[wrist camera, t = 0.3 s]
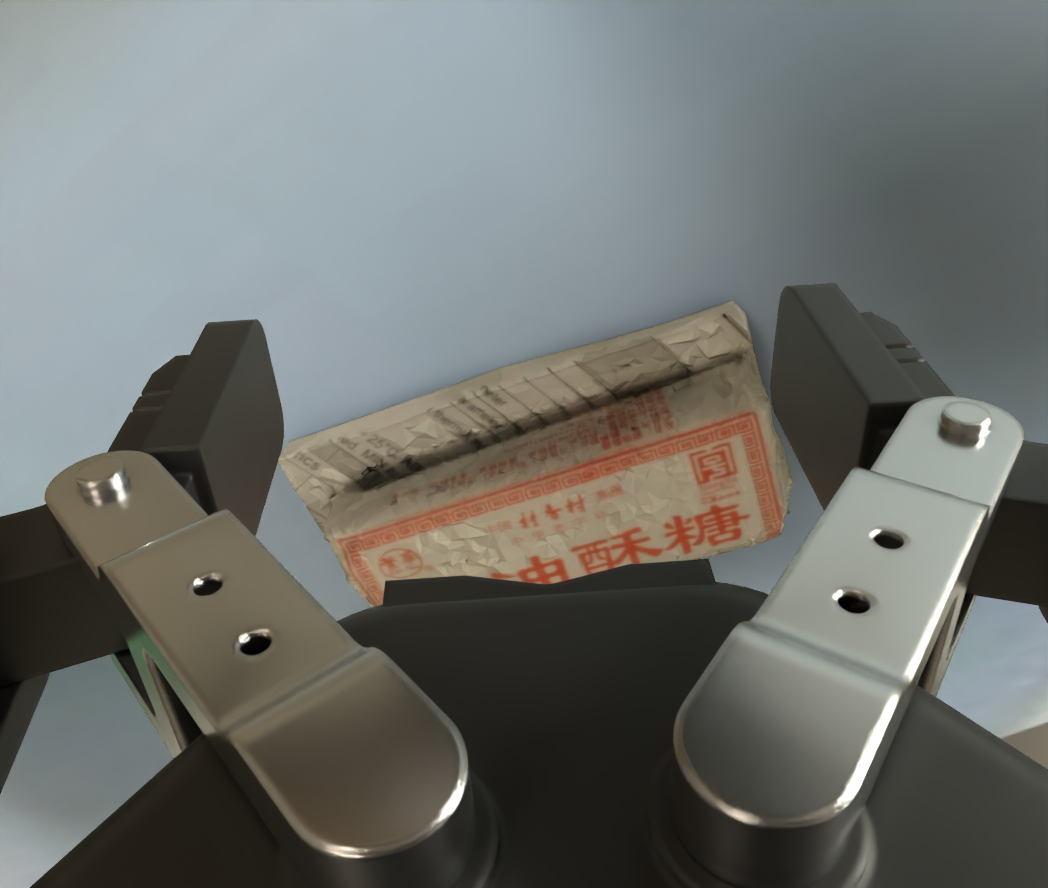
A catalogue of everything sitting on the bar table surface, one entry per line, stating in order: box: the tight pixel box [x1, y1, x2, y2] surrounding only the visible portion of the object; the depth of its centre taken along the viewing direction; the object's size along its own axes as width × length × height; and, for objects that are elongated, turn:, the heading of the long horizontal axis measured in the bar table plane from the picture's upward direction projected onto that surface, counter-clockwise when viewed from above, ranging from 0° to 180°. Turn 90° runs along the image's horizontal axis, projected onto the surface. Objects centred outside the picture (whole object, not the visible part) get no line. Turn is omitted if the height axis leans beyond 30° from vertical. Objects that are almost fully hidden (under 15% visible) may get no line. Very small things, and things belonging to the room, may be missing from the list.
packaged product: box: [278, 301, 793, 608], centre depth 35 cm, size 18×5×10 cm
